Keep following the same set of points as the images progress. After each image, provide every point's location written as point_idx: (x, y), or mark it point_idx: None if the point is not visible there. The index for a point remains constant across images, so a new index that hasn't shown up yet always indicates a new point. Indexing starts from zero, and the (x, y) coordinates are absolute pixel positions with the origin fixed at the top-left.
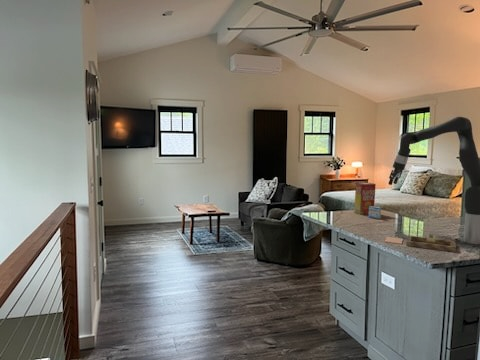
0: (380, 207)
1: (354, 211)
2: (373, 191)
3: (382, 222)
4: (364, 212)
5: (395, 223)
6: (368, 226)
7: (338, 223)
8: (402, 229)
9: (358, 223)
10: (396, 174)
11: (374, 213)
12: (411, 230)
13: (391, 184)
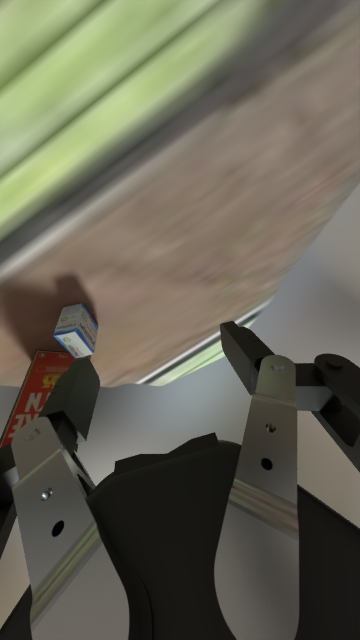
0: (57, 335)
1: None
2: (15, 429)
3: (113, 263)
4: (74, 358)
5: (72, 225)
6: (214, 247)
7: (238, 307)
8: (149, 117)
9: (198, 287)
10: (294, 482)
11: (87, 324)
12: (124, 52)
13: (233, 322)
